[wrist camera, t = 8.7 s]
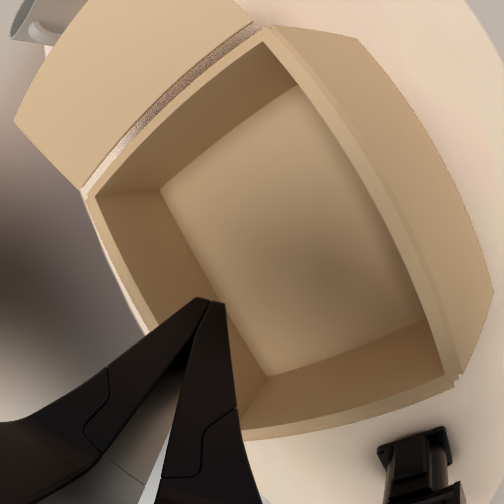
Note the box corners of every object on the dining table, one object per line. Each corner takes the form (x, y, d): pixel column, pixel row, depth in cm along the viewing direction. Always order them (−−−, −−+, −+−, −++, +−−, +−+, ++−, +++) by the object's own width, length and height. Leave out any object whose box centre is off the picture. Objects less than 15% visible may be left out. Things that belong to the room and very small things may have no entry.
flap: (253, 21, 10) (252, 20, 9) (83, 185, 16) (79, 190, 15) (159, -61, 6) (155, -64, 6) (19, 117, 12) (13, 121, 12)
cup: (91, -7, 21) (40, -24, 13) (103, 28, 21) (40, 9, 13) (60, 32, 24) (10, 22, 16) (68, 72, 24) (7, 63, 16)
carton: (498, 337, 14) (533, 397, 8) (252, 422, 24) (217, 475, 18) (355, 45, 14) (342, -18, 8) (127, 214, 24) (61, 228, 18)
